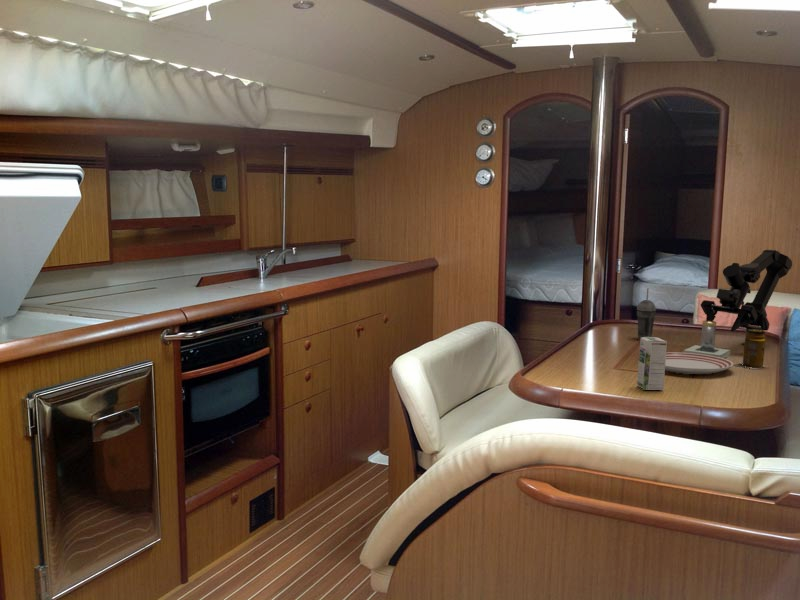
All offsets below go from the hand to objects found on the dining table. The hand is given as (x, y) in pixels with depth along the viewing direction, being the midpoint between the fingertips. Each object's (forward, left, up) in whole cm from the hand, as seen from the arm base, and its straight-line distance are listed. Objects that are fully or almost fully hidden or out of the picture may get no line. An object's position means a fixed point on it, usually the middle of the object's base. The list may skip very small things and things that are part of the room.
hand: (719, 328), depth 260 cm
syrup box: (+66, 0, -9) cm, 67 cm away
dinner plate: (+32, -1, -9) cm, 33 cm away
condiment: (+14, +14, -9) cm, 22 cm away
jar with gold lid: (+7, -2, -9) cm, 11 cm away
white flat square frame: (+7, -2, -9) cm, 11 cm away
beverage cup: (-6, -29, -9) cm, 30 cm away
